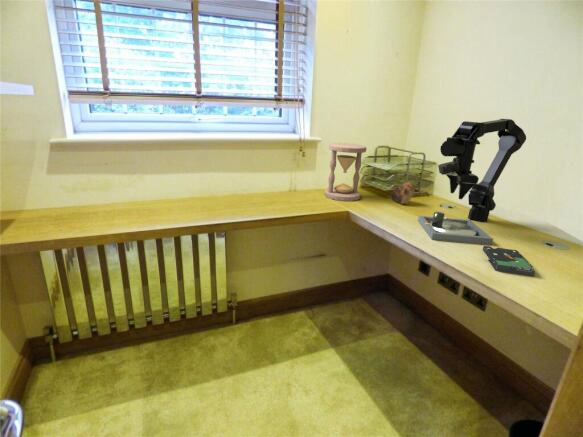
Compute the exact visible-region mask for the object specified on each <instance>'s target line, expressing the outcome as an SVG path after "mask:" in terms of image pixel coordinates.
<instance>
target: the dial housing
mask: <svg viewBox="0 0 583 437" xmlns="http://www.w3.org/2000/svg"><path fill="white" fill-rule="evenodd" d="M443 220H449V221H455V222H460V223H463V224H466V225H469V226H471V227H473V228H474V229H475V230H476V231H477V232H476V236H472V235H461V234H449V233H438V232H435V230H434V229H433V228H432V227H431V226H430V222H431V221H433V216H427V215H426V216H425V215H418V217H417V222H418V223H419V225H420V226H421V228H422V229H423V230H424V232H425V233H426V234H427V235H428V237H429V238H430V239H431V241H442V242H443V241H444V242H451V243H452V242H453V243H462V244H463V243H464V244H473V245H474V244H475V245H476V244H477V245H483V246H492V244H493V237H492V236H490V235H489V234H488V233H486V231H484V230H483V229H482V228H481V227H479V226H478V225H477V224H476V223H474V221H472V220H470V219H463V218H462V219H461V218H451V217H450V218H449V217H446V216H444V219H443Z"/></svg>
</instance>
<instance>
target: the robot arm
mask: <svg viewBox="0 0 583 437" xmlns="http://www.w3.org/2000/svg"><path fill="white" fill-rule="evenodd" d="M495 132H497V136H498V142H497V144H498V151H497V152H496V154H495V156H494V158H493V160H492V161H491V164H490V165H489V167H488V169H487V171H486V172H485V174H484V176H483V178H482V180H481V181H480V182H479V177H478V176H477V174H474V173H473V172H472V170H471V168H472V165H473V164H474V163H475V160H474V155H475V150H476V145H481V142H480V140H478V139H480V138H481V137H483V136H484V135H485V134H489V133H495ZM526 140H527V135H526V133H525V131H524V129H522V127H521V126H519V125H517V124H516V122H515V120H513V119H511V118H499V119H496V120H487V121H481V122H478V121H462V122H461V124H460V125H459V127H458V128H457V129H456V131H455V132H454V134H453V135H452V136H451V137H449V136H448V137H447V138H446V140H445V141H443V142H442V144H441V146H440V154H441V155H442V156H443V157H453V158H452V161H449V162H444V163H440V164H438V165H437V167H438V172H439V174H441V175H443V176H444V175H445V176H446V177H447V178H448V179H449V190H450V194H454V193H455V192H456V190H457V189H459V190H458V199H459V200H463V198H465V196H466V195H467V194H468V197H467V198H468V205H469V206H471V208H469V212H468V215H467V220H471V221H472V222H476V223H477V222H478V223H486V222H488V219H489V216H490V212H492V211H494V210H495V208H496V206H497V205H496V202H495V200H494V196H495V185H496V183H497V182H498V180H499V178H500V176H501V174H502V173H503V171H504V169H505V168H506V166H507V164H508V162H509V160H510V158H511V156H512V155H513V154H514V153H517V151H519V150H520V149H521V148H522V147H523V145H524V144H525V142H526ZM458 187H459V188H458ZM468 192H469V193H468Z"/></svg>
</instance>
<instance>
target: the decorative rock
mask: <svg viewBox="0 0 583 437" xmlns="http://www.w3.org/2000/svg"><path fill="white" fill-rule="evenodd" d="M414 192H415V187H414V186H413V184H411V183H410V181H407V180H406V181H404V182H402V183H401V184H399V185H397V186H396V187H395V188H394V189H393V190H392V192H391V200H393V201H394V202H396V203H399V204H400V205H403V204H405V205H406V204H409V202H410V200H411V198H412V196H413V195H414Z"/></svg>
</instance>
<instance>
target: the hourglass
mask: <svg viewBox="0 0 583 437" xmlns="http://www.w3.org/2000/svg"><path fill="white" fill-rule="evenodd" d="M328 150H330V151H331V158H330V162H329V163H330V164H329V168H330V173H329V175H328V187H327V188H326V189H325V190H324V196H325V197H326V198H328V199H331V200H334V201H335V200H336V201H340V202H355V201H358V200H360V199H361V192H359V191H358V187H359V186H358V185H359V183H360V182H359V181H360V169H361V166H362V154H363V153H366V152H367V146H366V145H362V144H356V143H355V144H354V143H348V142H347V143H346V142H345V143H343V142H342V143H341V142H340V143H339V142H333V143H329V146H328ZM337 152H339V153H348V154H349V153H350V154H356V156H354V155H347V154H345V155H344V154H338V155H337ZM337 161H338V162H339V164H340V166H341V168H342V170H343V171H342V172H343V173H344V174H347V173H348V170H349V169H350V167H351V166H352V165H353V163H354V169H355V172H354V175H353V178H352V182H353V184H352V186H350V185H348V184H346V183H343V182H342V183H340V184H336V185H335V184H334V183H335V179H336V175H335V169H336V167H337Z"/></svg>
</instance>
